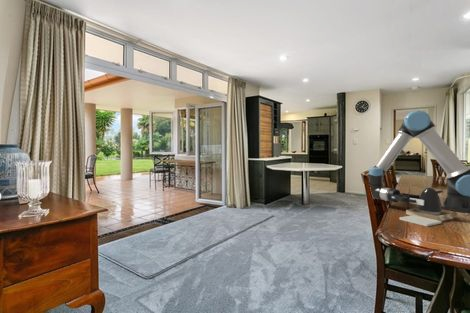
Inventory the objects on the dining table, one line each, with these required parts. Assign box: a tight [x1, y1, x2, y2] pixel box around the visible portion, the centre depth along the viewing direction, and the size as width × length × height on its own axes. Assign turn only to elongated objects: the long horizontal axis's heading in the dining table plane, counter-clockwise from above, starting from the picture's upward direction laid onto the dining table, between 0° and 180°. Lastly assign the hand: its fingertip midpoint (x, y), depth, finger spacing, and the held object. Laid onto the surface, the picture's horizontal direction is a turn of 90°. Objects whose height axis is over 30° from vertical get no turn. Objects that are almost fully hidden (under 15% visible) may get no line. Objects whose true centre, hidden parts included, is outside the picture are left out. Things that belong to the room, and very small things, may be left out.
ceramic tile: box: [399, 215, 442, 227], centre depth 119 cm, size 12×12×1 cm
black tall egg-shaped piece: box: [416, 187, 444, 216], centre depth 129 cm, size 10×10×15 cm
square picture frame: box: [405, 207, 454, 222], centre depth 129 cm, size 15×15×2 cm
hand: (431, 201), depth 128 cm, fingers open, 13 cm apart
